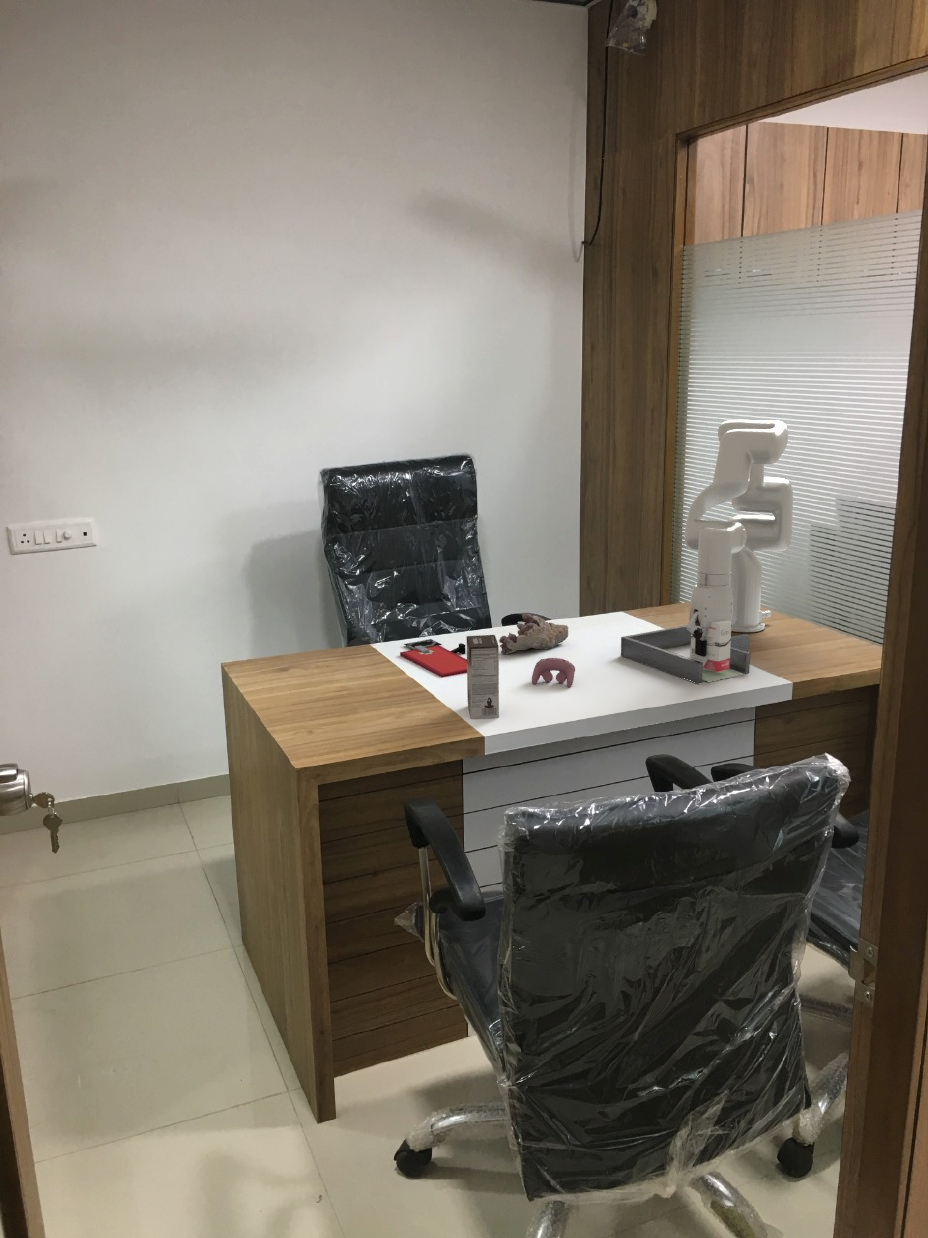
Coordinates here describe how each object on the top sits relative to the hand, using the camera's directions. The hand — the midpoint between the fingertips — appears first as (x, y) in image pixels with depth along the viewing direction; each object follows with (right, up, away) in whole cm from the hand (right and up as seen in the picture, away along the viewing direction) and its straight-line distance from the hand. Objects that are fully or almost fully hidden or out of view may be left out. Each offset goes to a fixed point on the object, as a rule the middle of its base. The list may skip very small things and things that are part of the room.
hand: (710, 652), depth 241 cm
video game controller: (-38, -7, -4) cm, 39 cm away
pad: (0, -5, +1) cm, 5 cm away
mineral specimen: (-40, 0, +24) cm, 47 cm away
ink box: (0, -4, +1) cm, 4 cm away
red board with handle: (-65, -3, +18) cm, 68 cm away
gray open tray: (+1, -2, +12) cm, 12 cm away
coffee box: (-55, -12, -23) cm, 61 cm away
